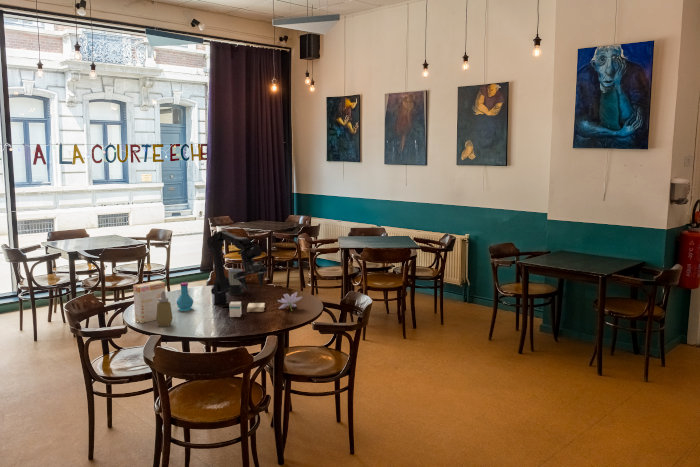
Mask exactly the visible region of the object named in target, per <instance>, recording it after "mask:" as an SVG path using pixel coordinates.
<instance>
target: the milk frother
mask: <svg viewBox="0 0 700 467" xmlns="http://www.w3.org/2000/svg"><path fill="white" fill-rule="evenodd" d="M227 271H228V278H229V283H230V288H229V291H228V295H231V296H238V295H242V294H245V293H244V286H243V285H242V284H241V283H240V282H239V281H238V280H236V279H234V277H233V275H234V274H235V273H238V272H244V271H245V270H243V269H242V268H231V269H228V270H227Z"/></svg>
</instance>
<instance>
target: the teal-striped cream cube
mask: <svg viewBox="0 0 700 467" xmlns="http://www.w3.org/2000/svg"><path fill="white" fill-rule="evenodd" d="M228 306H229V309H228V310H229V318H240V317H242V314H243V313H242V301H230V302H229V305H228Z"/></svg>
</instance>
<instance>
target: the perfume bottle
mask: <svg viewBox="0 0 700 467" xmlns="http://www.w3.org/2000/svg"><path fill="white" fill-rule="evenodd" d="M179 285H180V291H181V292H180V293H181V294H180V295H179V297H178V299H177V300H176V301H175V302H176V305H177V307H178V308H179V310H178V311H182V312H184V311H185V312H186V311H190V310H192V307H193V304H194V300H193V298H192V297H191V296H190V294H189V293H188V292H189V290H188V286H189V283H188V282H181V283H179Z"/></svg>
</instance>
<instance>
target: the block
mask: <svg viewBox="0 0 700 467" xmlns="http://www.w3.org/2000/svg"><path fill="white" fill-rule="evenodd" d="M265 307H266V303H265V302H249V303H248V304H247V307H246V312H247V313H251V312H252V313H260V312H261V313H262V312H264V311H265V309H264V308H265Z"/></svg>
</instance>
